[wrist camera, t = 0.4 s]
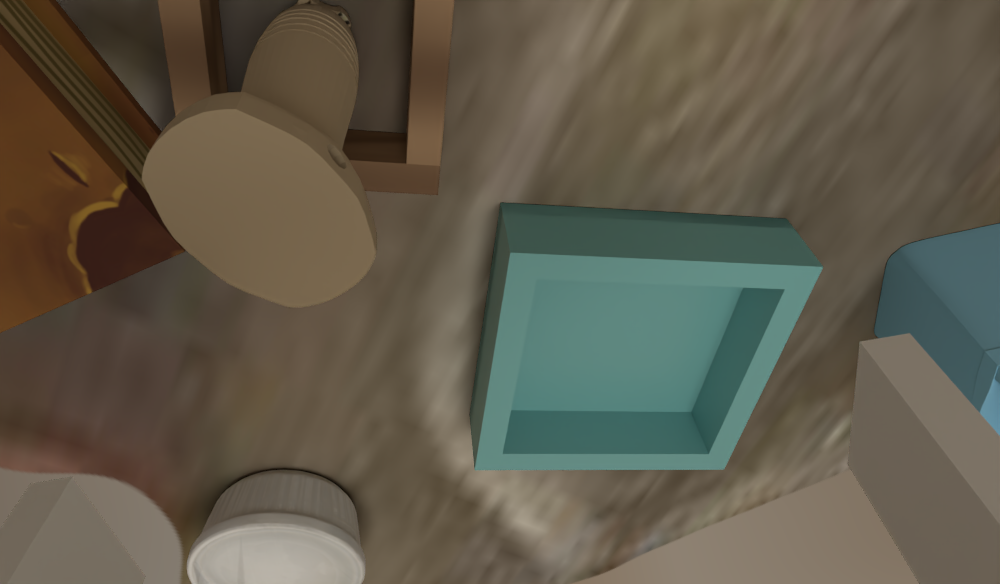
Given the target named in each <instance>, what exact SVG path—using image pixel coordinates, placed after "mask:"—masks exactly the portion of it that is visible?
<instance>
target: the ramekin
mask: <svg viewBox="0 0 1000 584" xmlns="http://www.w3.org/2000/svg"><path fill="white" fill-rule="evenodd" d="M365 565H366V563H365V555H364V553H363V550H362V548H361V543H360V534H359V527H358V519H357V513H356V510H355V506H354V504H353V503H352V500H351V499H350V498H349V497H348V495H347V494H346V493H344V492H343V490H342V489H341V488H339V487H338V486H337V485H336V484H334V483H333V482H331V481H329V480H328V479H326V478H323V477H321V476H318V475H315V474H312V473H309V472H304V471H298V470H271V471H265V472H260V473H257V474H253V475H250V476H248V477H246V478H244V479H242V480H240V481H238V482H237V483H235V484H233V485H232V486H231V487H229V488H228V489H226V490H225V492H224V493H223V494H222V495H221V496H220V498H219V499H218V500H217V502H216V504H215V506H214V508H213V510H212V512H211V514H210V516H209V518H208V520H207V522H206V524H205V526H204V528H203V531H202V533H201V535H200V536H199V537H198V538H197V539H196V541H195V542H194V544H193V545H192V548H191V550H190V553H189V556H188V560H187V573H188V577H189V579H190V581H191V583H192V584H362V582H363V580H364V576H365Z"/></svg>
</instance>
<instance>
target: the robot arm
mask: <svg viewBox="0 0 1000 584" xmlns="http://www.w3.org/2000/svg"><path fill="white" fill-rule="evenodd" d="M848 466H849V467H850V469H851V471H852V472H853V474H854V476H855V477H856V479H857V481H858V482H859V484H860V486H861V487H862V489H863V491H864V492H865V494H866V496H867V497H868V499H869V501H870V502H871V504H872V506H873V507H874V509H875V511H876V512H877V514H878V516H879V517H880V519H881V521H882V522H883V524H884V525H885V527H886V529H887V531H888V532H889V534H890V536H891V537H892V539H893V541H894V542H895V544H896V546H897V547H898V549H899V551H900V552H901V554H902V556H903V557H904V559H905V561H906V562H907V564H908V566H909V567H910V569H911V571H912V572H913V574H914V576H915V577H916V579H917V581H918V582H919V584H1000V436H999V434H998V433H997V432H996V431H995V430H994V429H993V428H992V426H991V425H990V424H989V423H988V422H987V421H986V420H985V418H984V417H983V416H982V415H981V414H980V413H979V412H978V410H977V409H976V408H975V407H974V406H973V405H972V404H971V403H970V401H969V400H968V399H967V398H966V397H965V396H964V395H963V393H962V392H961V391H960V390H959V389H958V388H957V387H956V385H955V384H954V383H953V382H952V381H951V380H950V379H949V377H948V376H947V375H946V374H945V373H944V372H943V371H942V369H941V368H940V367H939V366H938V365H937V364H936V363H935V361H934V360H933V359H932V358H931V357H930V356H929V355H928V353H927V352H926V351H925V350H924V349H923V348H922V347H921V345H920V344H919V343H918V342H917V341H916V340H915V339H914V338H913V336H912V335H911V334H910V333H908V334H902V335H896V336H890V337H884V338H878V339H872V340H867V341H861V342H860V345H859V355H858V365H857V375H856V385H855V395H854V405H853V415H852V425H851V435H850V446H849V456H848ZM144 579H145V575H144V573H143V572H142V571H141V569H140V568H139V567H138V565H137V564H136V563H135V561H134V560H133V558H132V557H131V556H130V554H129V553H128V552H127V550H126V549H125V547H124V546H123V545H122V543H121V542H120V541H119V539H118V538H117V537H116V535H115V534H114V532H113V531H112V530H111V528H110V527H109V526H108V524H107V523H106V522H105V520H104V519H103V517H102V516H101V515H100V513H99V512H98V511H97V509H96V508H95V507H94V505H93V504H92V502H91V501H90V500H89V498H88V497H87V496H86V494H85V493H84V492H83V490H82V489H81V487H80V486H79V485H78V483H77V482H76V481H75V479H74V478H73V477H67V478H61V479H56V480H49V481H43V482H38V483H32V484H30V485H29V486H28V488H27V489H26V491H25V492H24V494H23V495H22V497H21V498H20V500H19V501H18V503H17V504H16V506H15V507H14V509H13V510H12V512H11V513H10V515H9V516H8V518H7V519H6V521H5V522H4V524H3V525H2V527H1V528H0V584H143V581H144Z"/></svg>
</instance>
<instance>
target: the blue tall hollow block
mask: <svg viewBox="0 0 1000 584" xmlns="http://www.w3.org/2000/svg"><path fill="white" fill-rule="evenodd" d="M874 333H875V335H876V336H877V337H878V338H884V337H890V336H896V335H902V334H908V333H910V334H911V335H912V336H913V338H914V339H915V340H916V341H917V342H918V343H919V344H920V345H921V347H922V348H923V349H924V350H925V351H926V352H927V353H928V355H929V356H930V357H931V358H932V359H933V360H934V361H935V363H936V364H937V365H938V366H939V367H940V368H941V369H942V371H943V372H944V373H945V374H946V375H947V376H948V377H949V379H950V380H951V381H952V382H953V383H954V384H955V385H956V387H957V388H958V389H959V390H960V391H961V392H962V393H963V395H964V396H965V397H966V398H967V399H968V400H969V401H970V403H971V404H972V405H973V406H974V407H975V408H976V409H977V410H978V412H979V413H980V414H981V415H982V416H983V417H984V418H985V420H986V421H987V422H988V423H989V424H990V425H991V426H992V428H993V429H994V430H995V431H996V432H997V433H998V434H999V436H1000V223H998V224H993V225H989V226H984V227H979V228H975V229H970V230H966V231H961V232H956V233H952V234H947V235H942V236H938V237H933V238H929V239H924V240H920V241H916V242H913V243H910V244H907V245H905V246H903V247H901V248H900V249H898V250H897V251H896V252H895V253H894V254H892V255H891V257H890V258H889V260H888V262H887V264H886V268H885V273H884V278H883V284H882V289H881V295H880V300H879V306H878V311H877V317H876V322H875V328H874Z"/></svg>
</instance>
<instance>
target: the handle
mask: <svg viewBox="0 0 1000 584" xmlns="http://www.w3.org/2000/svg"><path fill="white" fill-rule="evenodd" d="M350 27H351V20H350V18H349V15H348V14H347V12H346V11H345V10H344V9H343V8H342V7H341V6H337V7H335V6H330V5H327V4H325V3H323V2H321V1H319V0H298V1H297V4H296V5H294V6H293V7H290V8H288V9H287V10H284V11H282V12H281V13H279V15H278V16H277V17H276V18H275V19H274V20H273V21H272V22H271V23H270V24H269V26H268V27H267V28H266V30H265V31H264V32H263V34H262V35H261V37H260V38H259V40H258V42H257V44H256V46H255V48H254V51H253V53H252V55H251V57H250V60H249V63H248V67H247V70H246V74H245V78H244V82H243V85H242V89H241V92H228V93H221V94H215V95H212V96H210V97H207V98H205V99H202V100H199V101H197V102H196V103H194V104H192V105H191V106H189V107H188V108H186V109H184V110H183V111H181V112H180V113H179V114H178V115H177V116H176V117H175V118H174V119H173V120H172V121H171V122H169V124H168V125H167V126H166V127H165V128H164V130H163V131H162V133H161V134H160V135H159V137H158V138H157V140H156V141H155V143H154V145H153V146H152V148H151V150H150V151H149V153H148V155H147V158H146V161H145V164H144V167H143V173H142V181H143V183H144V185H145V187H146V189H147V191H148V194H149V196H150V198H151V200H152V202H153V204H154V206H155V208H156V210H157V212H158V213H159V215H160V217H161V219H162V221H163V223H164V224H165V226H166V227H167V229H168V230H169V232H170V233H171V235H172V236H173V238H174V239H175V240H176V241H177V242H178V243H179V244H180V245H181V246H182V247H183V248H184V249H185V250H186V251H187V252H189V253H190V254H191V255H192V256H193V257H195V258H196V259H197V260H198V261H199V262H201V263H202V264H203V265H204V266H205V267H207V268H208V269H209V270H210V271H211V272H213V273H214V274H215V275H217V276H218V277H219V278H221V279H222V280H224V281H225V282H227V283H228V284H230V285H232V286H234V287H236V288H238V289H240V290H242V291H244V292H247V293H250V294H252V295H255V296H258V297H260V298H263V299H266V300H269V301H272V302H274V303H277V304H280V305H283V306H286V307H289V308H296V307H307V306H313V305H317V304H320V303H323V302H326V301H329V300H331V299H333V298H335V297H337V296H339V295H341V294H343V293H345V292H346V291H347V290H349V289H350V288H352V287H353V286H354V285H356V284H357V283H358V282H359V281H360V280H361V279H362V278H363V277H364V276H365V275H366V274H367V272H368V270H369V269H370V267H371V265H372V264H373V261H374V258H375V256H376V251H377V232H376V228H375V224H374V220H373V216H372V212H371V209H370V205H369V202H368V199H367V196H366V193H365V190H364V188H363V185H362V183H361V180H360V178H359V176H358V175H357V173H356V171H355V170H354V168H353V166H352V165H351V163H350V161H349V159H348V158H347V156H346V155H345V154H344V152H343V151H342V148H343V144H344V140H345V137H346V133H347V130H348V126H349V123H350V120H351V116H352V113H353V109H354V106H355V103H356V97H357V90H358V81H359V65H358V54H357V48H356V44H355V40H354V37H353V35H352V32H351V30H350Z"/></svg>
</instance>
